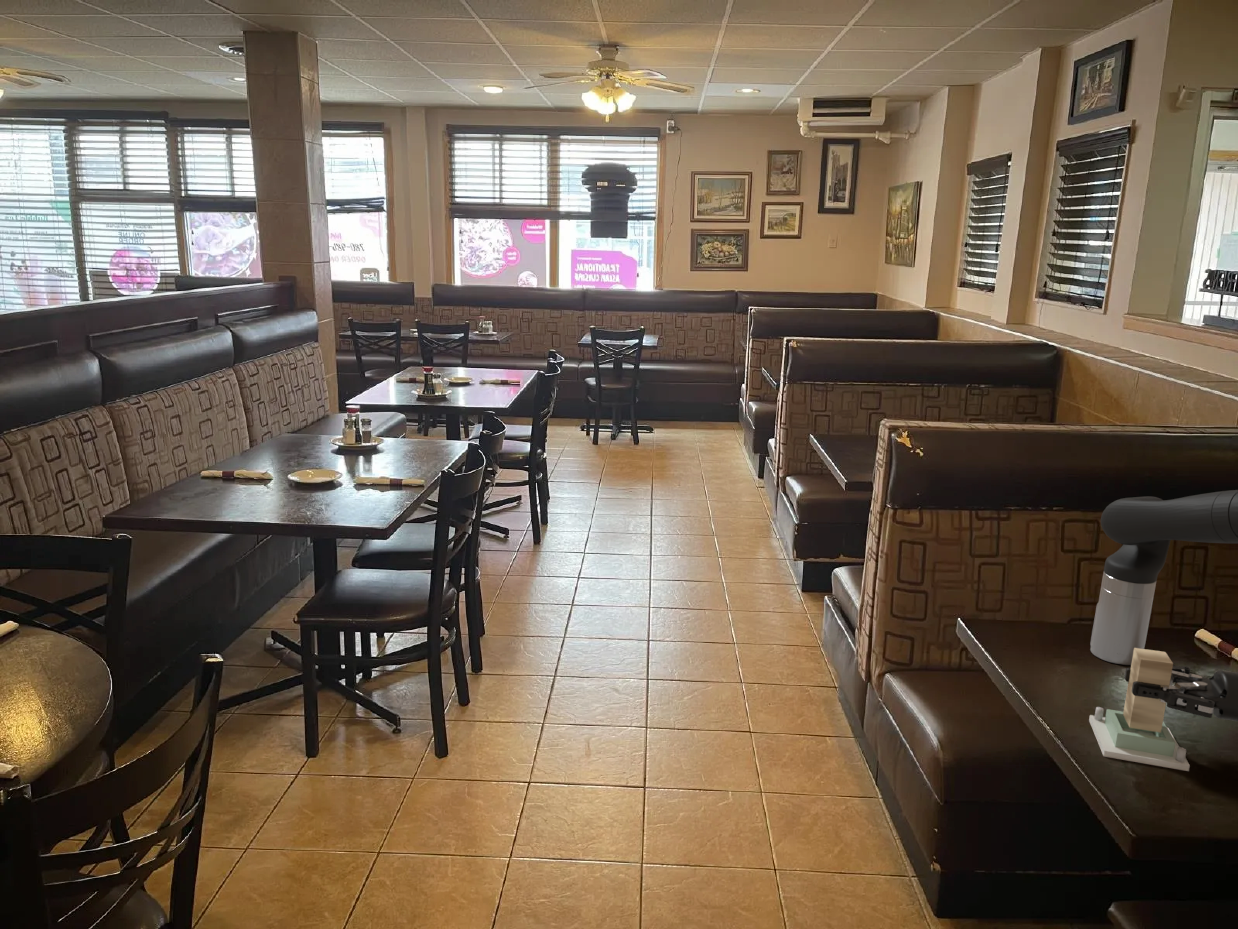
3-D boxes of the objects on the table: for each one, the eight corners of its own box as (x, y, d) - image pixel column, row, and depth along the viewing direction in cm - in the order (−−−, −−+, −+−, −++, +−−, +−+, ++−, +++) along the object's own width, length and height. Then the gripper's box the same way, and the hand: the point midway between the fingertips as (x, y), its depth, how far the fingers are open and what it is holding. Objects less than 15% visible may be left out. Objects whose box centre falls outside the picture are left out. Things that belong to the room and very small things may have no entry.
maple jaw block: (1123, 714, 146) (1134, 647, 144) (1153, 719, 145) (1165, 652, 142) (1129, 727, 142) (1140, 659, 140) (1160, 732, 141) (1173, 663, 138)
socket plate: (1088, 720, 152) (1092, 701, 151) (1167, 733, 149) (1171, 714, 148) (1103, 756, 141) (1107, 736, 140) (1188, 771, 137) (1192, 751, 137)
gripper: (1239, 658, 144) (1122, 642, 149) (1273, 697, 130) (1143, 679, 135) (1230, 699, 145) (1115, 683, 150) (1263, 743, 132) (1136, 723, 137)
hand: (1129, 681), depth 143 cm, fingers closed on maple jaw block, 4 cm apart
